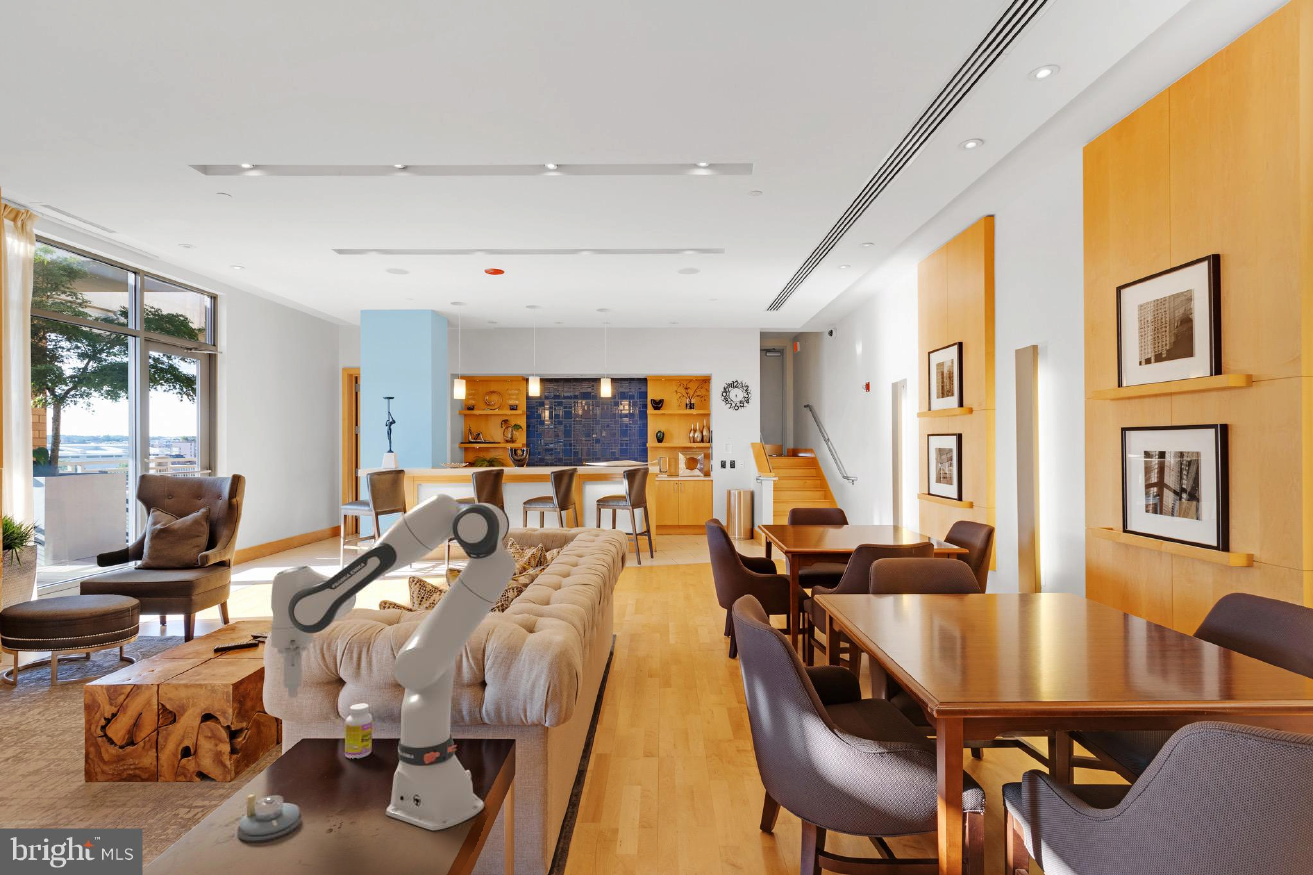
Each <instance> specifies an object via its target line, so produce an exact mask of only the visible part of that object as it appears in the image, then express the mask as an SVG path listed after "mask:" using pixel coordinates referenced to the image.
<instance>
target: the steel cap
mask: <svg viewBox="0 0 1313 875" xmlns="http://www.w3.org/2000/svg"><path fill="white" fill-rule="evenodd" d="M283 803H284V796H281V795H278V794H277V795H276V794H275V795H269V796H265V797H262V798H260V799H259V800H257V801H256V802H255V821H256V822H260V823H265V822H271V821H273V820H276V819H278V818H280V817H281V816H282V814H283Z"/></svg>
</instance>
